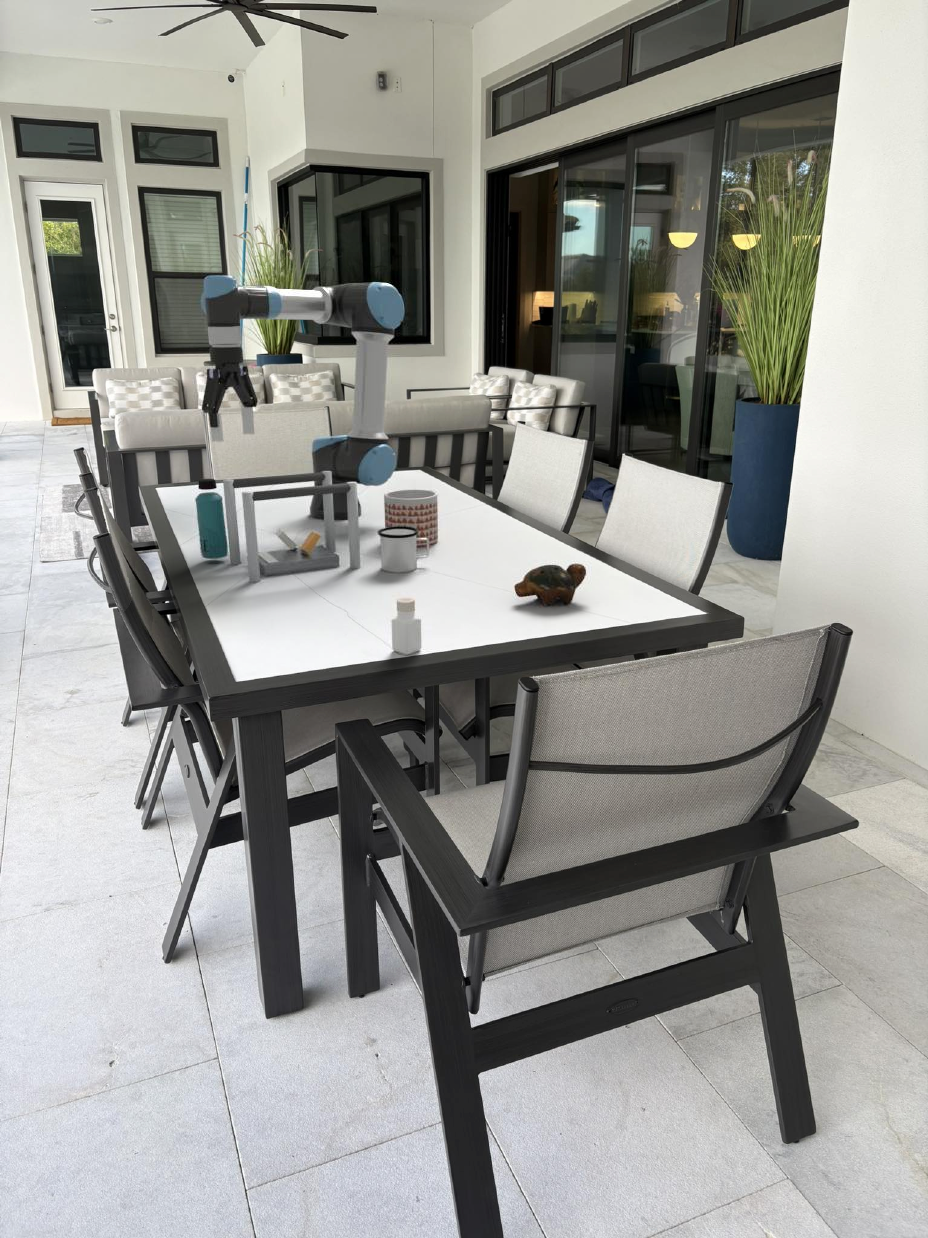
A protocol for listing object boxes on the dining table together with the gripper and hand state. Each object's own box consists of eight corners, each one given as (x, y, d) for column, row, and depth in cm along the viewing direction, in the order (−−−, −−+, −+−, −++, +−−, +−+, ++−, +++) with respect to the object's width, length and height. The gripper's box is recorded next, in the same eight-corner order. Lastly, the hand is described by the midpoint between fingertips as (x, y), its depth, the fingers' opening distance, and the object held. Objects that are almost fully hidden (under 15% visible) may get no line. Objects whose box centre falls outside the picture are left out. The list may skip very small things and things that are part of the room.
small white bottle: (406, 656, 156) (405, 604, 153) (391, 651, 158) (389, 600, 155) (422, 650, 159) (421, 599, 156) (407, 645, 161) (405, 594, 158)
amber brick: (303, 553, 214) (317, 534, 215) (307, 556, 212) (321, 536, 212) (298, 550, 213) (312, 530, 214) (302, 552, 211) (316, 533, 211)
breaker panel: (322, 554, 222) (322, 543, 221) (339, 566, 212) (339, 554, 211) (250, 564, 214) (250, 552, 213) (265, 576, 204) (264, 564, 203)
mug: (383, 575, 204) (382, 536, 201) (375, 564, 213) (374, 527, 210) (434, 570, 207) (433, 532, 205) (424, 560, 216) (423, 524, 213)
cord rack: (333, 549, 226) (329, 470, 220) (362, 567, 210) (358, 483, 204) (229, 562, 215) (221, 479, 208) (251, 583, 199) (243, 493, 192)
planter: (446, 538, 237) (446, 491, 233) (423, 550, 225) (422, 500, 221) (401, 533, 242) (400, 487, 238) (376, 545, 231) (374, 496, 227)
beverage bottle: (234, 559, 218) (227, 477, 211) (218, 566, 212) (210, 482, 206) (211, 557, 220) (203, 475, 213) (195, 563, 214) (186, 480, 208)
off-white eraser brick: (295, 544, 218) (279, 528, 215) (299, 547, 216) (283, 531, 213) (290, 549, 218) (274, 533, 215) (294, 552, 216) (278, 536, 213)
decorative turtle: (594, 604, 183) (594, 567, 180) (525, 616, 180) (523, 579, 176) (575, 588, 192) (575, 553, 189) (509, 599, 188) (507, 564, 185)
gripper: (241, 343, 222) (248, 430, 229) (179, 347, 199) (189, 443, 206) (267, 344, 219) (274, 431, 226) (208, 348, 197) (217, 445, 204)
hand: (233, 437), depth 216 cm, fingers open, 13 cm apart
